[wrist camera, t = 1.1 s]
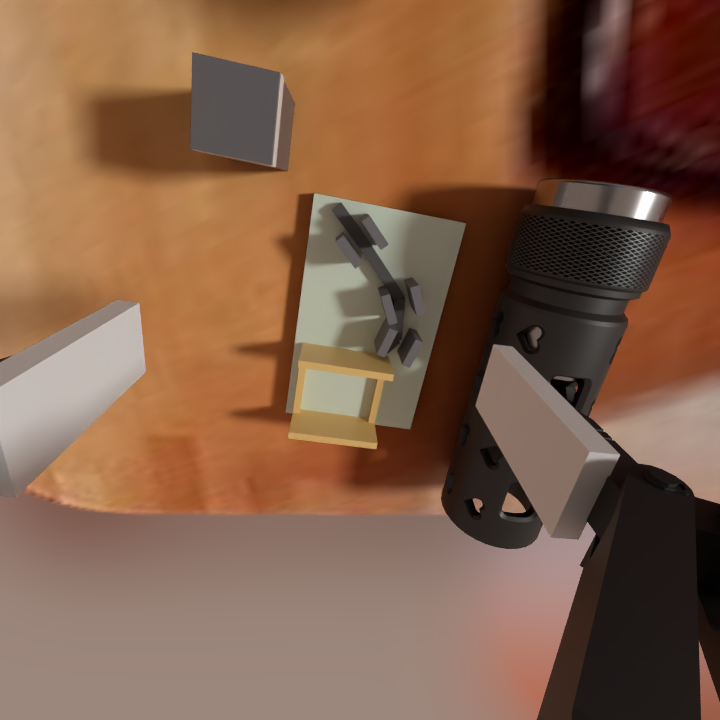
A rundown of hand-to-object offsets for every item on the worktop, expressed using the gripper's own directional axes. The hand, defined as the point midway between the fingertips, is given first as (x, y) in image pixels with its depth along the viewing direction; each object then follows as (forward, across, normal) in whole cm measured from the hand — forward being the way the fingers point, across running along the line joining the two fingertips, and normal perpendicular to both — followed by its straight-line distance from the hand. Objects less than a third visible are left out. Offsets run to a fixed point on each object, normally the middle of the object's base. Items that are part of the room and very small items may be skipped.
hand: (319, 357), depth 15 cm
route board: (+20, +4, -5) cm, 21 cm away
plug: (+20, -6, +8) cm, 23 cm away
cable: (+19, +3, -1) cm, 19 cm away
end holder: (+19, +2, -11) cm, 22 cm away
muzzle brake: (+20, +17, -6) cm, 27 cm away
